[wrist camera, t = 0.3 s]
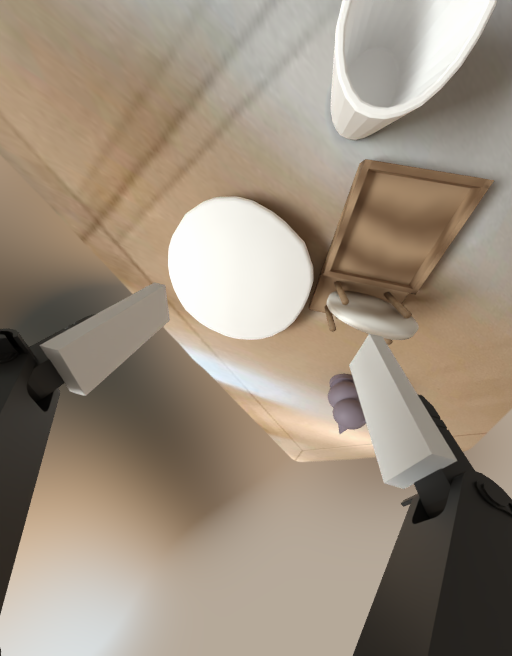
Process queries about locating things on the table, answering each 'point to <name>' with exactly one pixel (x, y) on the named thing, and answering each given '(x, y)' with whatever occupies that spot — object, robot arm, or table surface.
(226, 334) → the plate
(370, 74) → the cup
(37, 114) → the table surface
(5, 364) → the robot arm
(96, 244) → the table surface
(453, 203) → the rack
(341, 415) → the cat figurine
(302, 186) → the table surface
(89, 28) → the table surface
